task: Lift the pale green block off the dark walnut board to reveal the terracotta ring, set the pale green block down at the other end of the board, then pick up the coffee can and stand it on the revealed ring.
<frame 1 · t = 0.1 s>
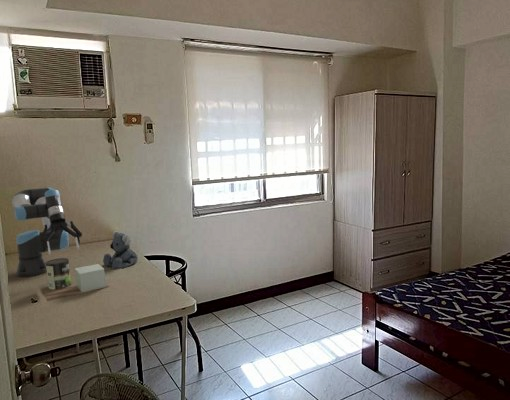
hand: (64, 251, 211), 15 cm above the table, tool tilted 35°, fingers open, 13 cm apart
koala plush: (123, 264, 238), on the table
pale green block: (91, 286, 196), point 1 cm above the table, touching layout board
layout board: (77, 292, 193), on the table
coffee can: (60, 289, 200), on the table
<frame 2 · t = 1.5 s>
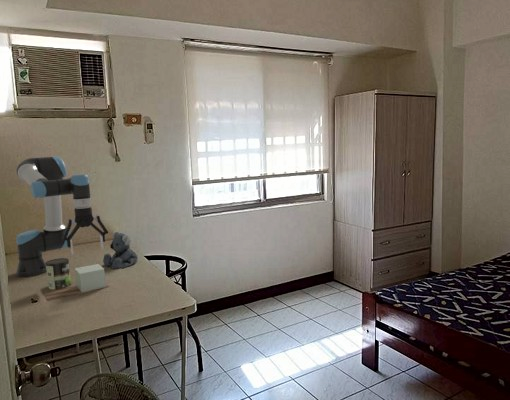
hand: (87, 251, 194), 19 cm above the table, tool pointing down, fingers open, 13 cm apart
nothing on the table moved.
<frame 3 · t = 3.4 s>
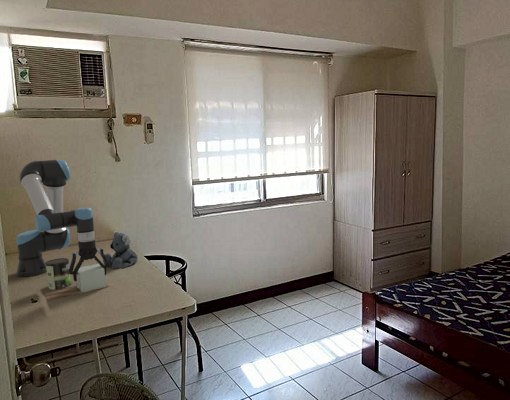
hand: (91, 284, 196), 3 cm above the table, tool pointing down, fingers closed on pale green block, 11 cm apart
pale green block: (91, 286, 196), point 2 cm above the table, touching gripper, layout board
everything else where it was.
when the fingers open (4 cm above the table, at t = 9.4 s): pale green block drops 1 cm, resting on layout board.
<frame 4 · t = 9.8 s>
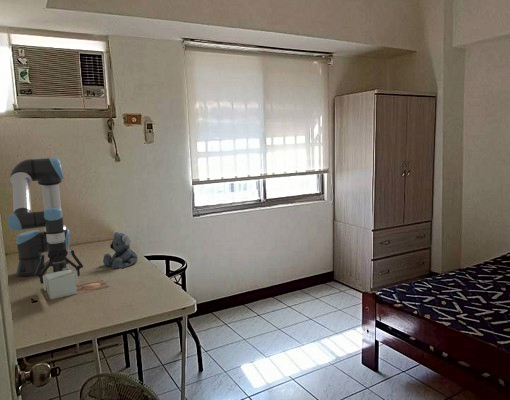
hand: (61, 286, 189), 5 cm above the table, tool pointing down, fingers open, 13 cm apart
pale green block: (62, 293, 189), point 1 cm above the table, touching layout board
everything else where it was.
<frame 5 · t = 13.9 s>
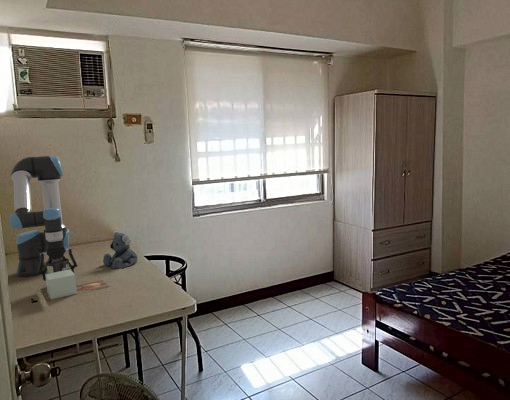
hand: (59, 284, 200), 2 cm above the table, tool pointing down, fingers closed on coffee can, 10 cm apart
coffee can: (60, 288, 200), on the table, touching gripper
everything else where it was.
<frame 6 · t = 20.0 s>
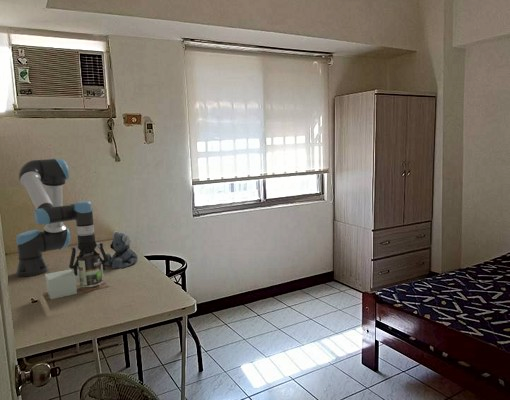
hand: (90, 279, 196), 5 cm above the table, tool pointing down, fingers closed on coffee can, 10 cm apart
pale green block: (62, 293, 189), point 1 cm above the table, touching gripper, layout board
coffee can: (91, 284, 196), point 3 cm above the table, touching gripper
everything else where it was.
when the fingers open (5 cm above the table, at t = 20.5 s): coffee can drops 1 cm, resting on layout board.
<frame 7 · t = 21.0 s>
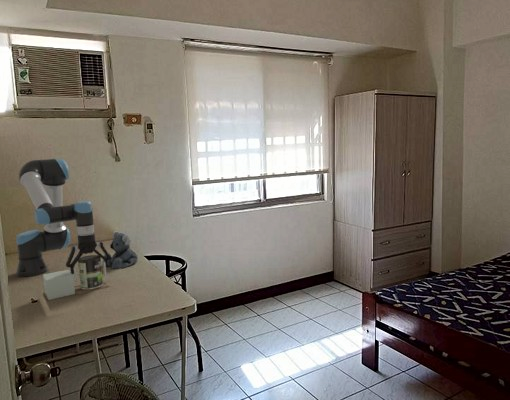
hand: (90, 277, 196), 6 cm above the table, tool pointing down, fingers open, 13 cm apart
coffee can: (91, 286, 196), point 2 cm above the table, touching layout board
everything else where it was.
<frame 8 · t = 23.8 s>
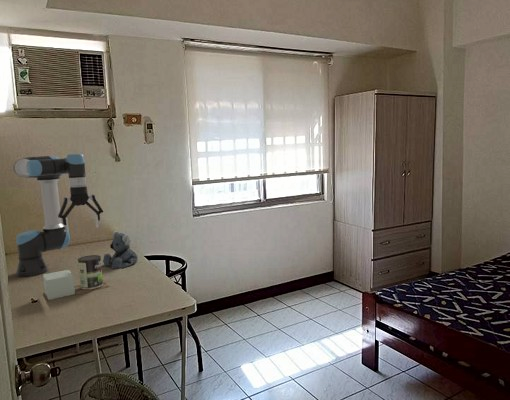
hand: (82, 229, 198), 29 cm above the table, tool pointing down, fingers open, 13 cm apart
pale green block: (59, 293, 189), point 1 cm above the table, touching layout board
everything else where it was.
at the end: coffee can 0.3 cm from the target spot on the layout board, point 1.5 cm above the layout board's base; coffee can tilted 1°; pale green block moved 13.9 cm from its start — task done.
